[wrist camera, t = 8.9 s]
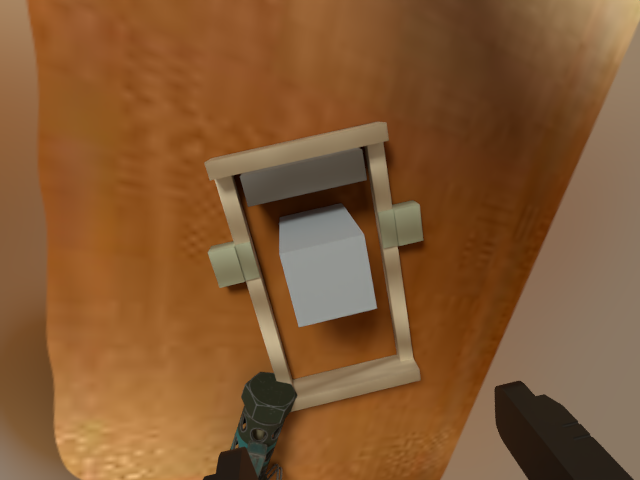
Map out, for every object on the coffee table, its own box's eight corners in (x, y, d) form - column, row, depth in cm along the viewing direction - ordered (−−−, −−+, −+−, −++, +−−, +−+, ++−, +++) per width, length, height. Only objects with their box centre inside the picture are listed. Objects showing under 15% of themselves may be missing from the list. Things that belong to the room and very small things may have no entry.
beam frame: (183, 164, 26) (167, 172, 22) (403, 116, 27) (423, 116, 23) (261, 398, 34) (259, 433, 30) (431, 356, 34) (450, 386, 30)
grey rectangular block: (279, 217, 28) (279, 254, 21) (341, 202, 28) (364, 234, 21) (294, 273, 30) (298, 327, 22) (352, 260, 30) (377, 308, 22)
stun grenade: (250, 364, 33) (215, 476, 37) (236, 417, 27) (196, 544, 31) (315, 380, 34) (274, 489, 37) (316, 436, 28) (267, 558, 31)
